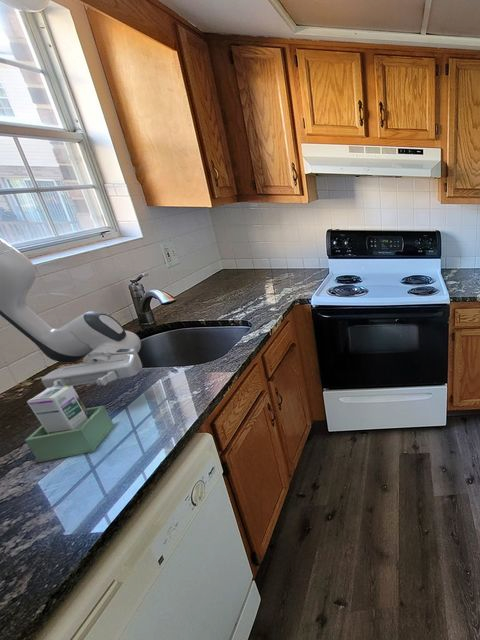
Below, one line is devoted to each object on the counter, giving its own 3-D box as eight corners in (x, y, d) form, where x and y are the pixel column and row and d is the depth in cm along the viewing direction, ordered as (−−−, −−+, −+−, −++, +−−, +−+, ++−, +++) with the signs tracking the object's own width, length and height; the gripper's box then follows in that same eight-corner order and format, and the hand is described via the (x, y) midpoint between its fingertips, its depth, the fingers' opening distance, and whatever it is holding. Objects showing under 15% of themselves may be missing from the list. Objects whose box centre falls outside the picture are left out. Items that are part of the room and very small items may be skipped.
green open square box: (93, 451, 89) (81, 429, 86) (38, 462, 86) (24, 440, 83) (114, 425, 98) (103, 405, 95) (65, 434, 95) (53, 414, 92)
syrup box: (83, 446, 90) (54, 397, 84) (56, 449, 89) (25, 400, 83) (99, 431, 95) (73, 384, 89) (74, 434, 94) (46, 387, 88)
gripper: (55, 359, 103) (20, 384, 91) (140, 347, 108) (119, 369, 96) (66, 379, 105) (33, 405, 93) (149, 366, 111) (128, 389, 99)
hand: (77, 387), depth 95 cm, fingers open, 8 cm apart
